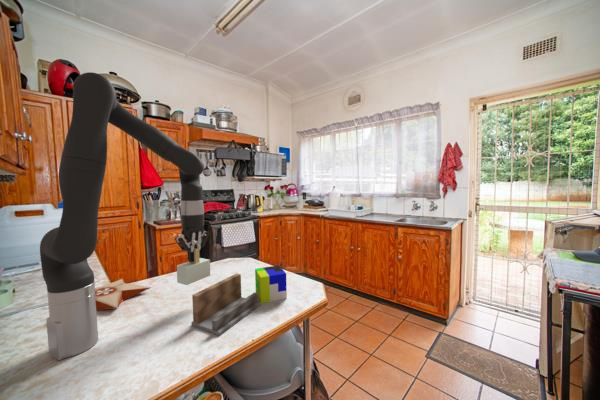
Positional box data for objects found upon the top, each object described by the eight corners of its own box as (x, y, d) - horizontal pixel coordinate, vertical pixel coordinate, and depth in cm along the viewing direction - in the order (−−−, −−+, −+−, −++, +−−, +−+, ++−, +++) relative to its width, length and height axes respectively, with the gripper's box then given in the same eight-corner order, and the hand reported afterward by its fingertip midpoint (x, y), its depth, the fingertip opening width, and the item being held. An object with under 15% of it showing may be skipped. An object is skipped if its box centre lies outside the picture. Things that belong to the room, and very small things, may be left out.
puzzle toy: (286, 298, 92) (286, 273, 92) (261, 303, 89) (260, 277, 88) (279, 288, 102) (278, 265, 101) (255, 292, 98) (255, 268, 97)
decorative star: (132, 271, 112) (160, 287, 94) (132, 280, 112) (161, 297, 94) (43, 294, 89) (58, 321, 71) (44, 304, 89) (59, 334, 71)
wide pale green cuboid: (186, 285, 81) (185, 253, 80) (177, 282, 83) (176, 251, 83) (210, 275, 90) (209, 246, 89) (201, 273, 92) (200, 245, 91)
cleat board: (219, 335, 70) (218, 302, 69) (191, 325, 75) (190, 294, 75) (260, 304, 88) (260, 278, 87) (235, 298, 93) (234, 273, 92)
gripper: (182, 215, 77) (184, 268, 78) (215, 211, 89) (216, 257, 90) (167, 214, 81) (169, 265, 82) (201, 211, 93) (202, 254, 94)
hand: (194, 260), depth 86 cm, fingers closed on wide pale green cuboid, 1 cm apart
